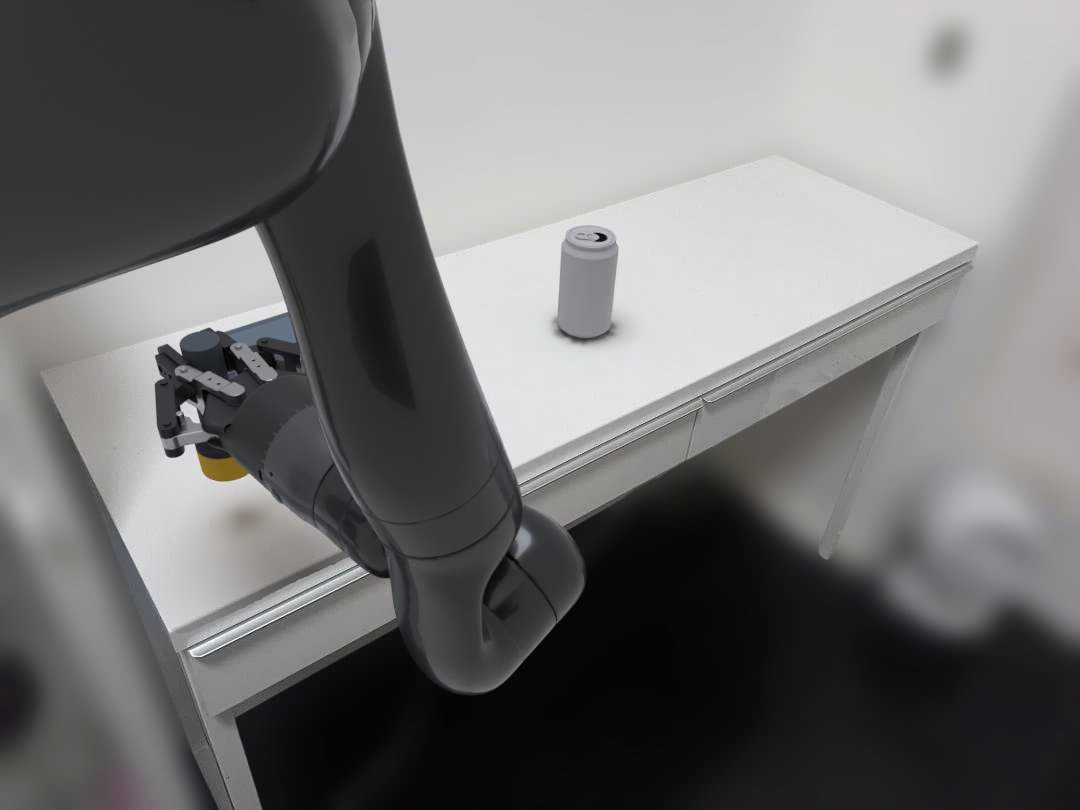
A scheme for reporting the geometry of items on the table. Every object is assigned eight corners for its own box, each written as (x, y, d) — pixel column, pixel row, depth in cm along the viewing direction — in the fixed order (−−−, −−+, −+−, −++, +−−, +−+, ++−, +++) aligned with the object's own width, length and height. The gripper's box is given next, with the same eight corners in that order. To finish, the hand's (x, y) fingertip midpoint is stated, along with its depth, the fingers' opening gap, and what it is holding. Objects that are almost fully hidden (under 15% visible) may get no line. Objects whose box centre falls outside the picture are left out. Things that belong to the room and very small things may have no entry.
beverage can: (611, 343, 94) (622, 249, 87) (556, 340, 94) (562, 246, 86) (608, 314, 99) (618, 223, 92) (556, 312, 99) (561, 221, 91)
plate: (223, 383, 85) (221, 374, 84) (195, 348, 89) (193, 340, 89) (344, 341, 92) (343, 332, 91) (312, 311, 97) (311, 303, 96)
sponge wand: (197, 483, 64) (161, 359, 57) (206, 448, 68) (173, 326, 60) (254, 479, 65) (226, 356, 58) (261, 444, 68) (235, 323, 61)
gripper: (398, 365, 55) (258, 274, 64) (206, 460, 46) (76, 339, 55) (404, 449, 59) (272, 353, 68) (230, 550, 51) (106, 425, 60)
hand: (185, 347), depth 62 cm, fingers closed on sponge wand, 2 cm apart
